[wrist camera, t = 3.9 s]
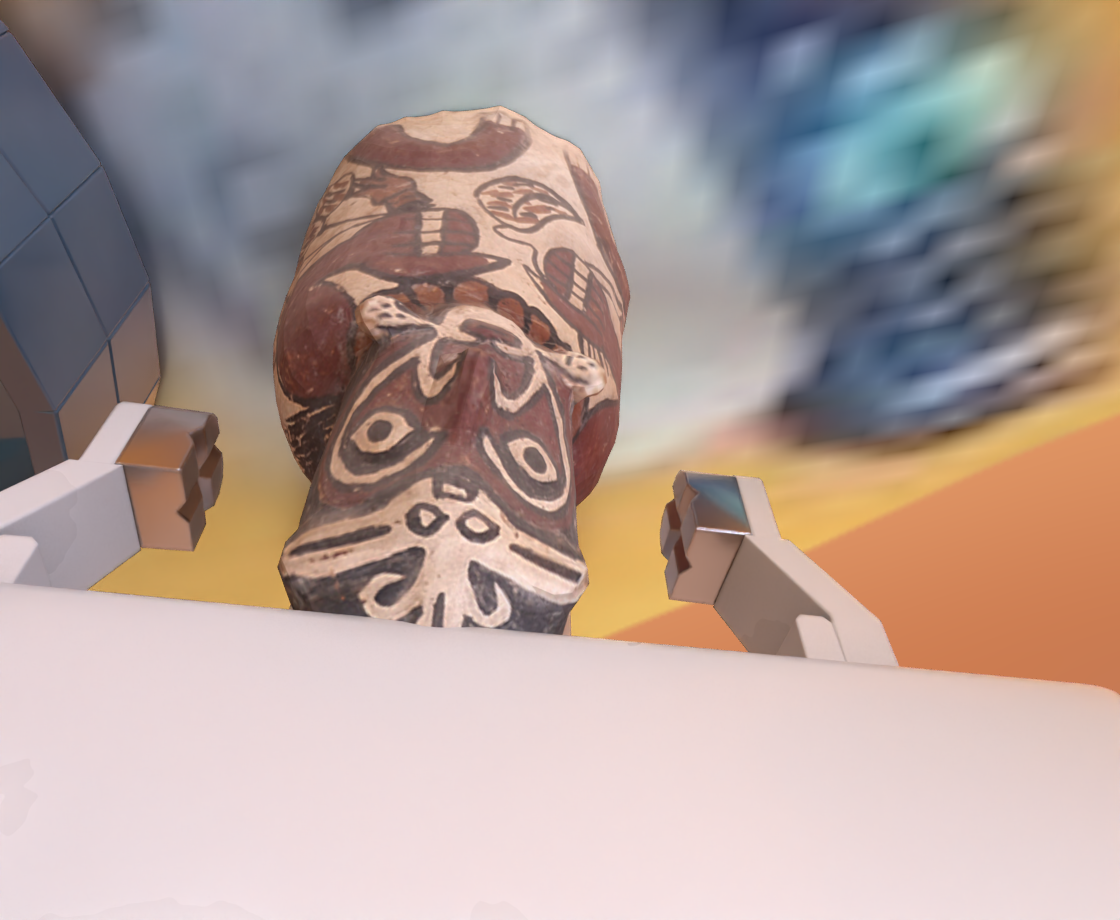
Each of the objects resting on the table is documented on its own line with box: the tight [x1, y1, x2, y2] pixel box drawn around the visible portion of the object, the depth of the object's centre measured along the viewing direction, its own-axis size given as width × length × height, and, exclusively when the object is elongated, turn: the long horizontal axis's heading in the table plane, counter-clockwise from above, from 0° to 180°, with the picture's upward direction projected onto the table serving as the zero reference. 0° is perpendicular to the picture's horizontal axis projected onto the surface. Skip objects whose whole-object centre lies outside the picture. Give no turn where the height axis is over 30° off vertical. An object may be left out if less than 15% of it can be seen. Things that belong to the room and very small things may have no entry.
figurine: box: [273, 106, 630, 635], centre depth 15 cm, size 7×7×12 cm
